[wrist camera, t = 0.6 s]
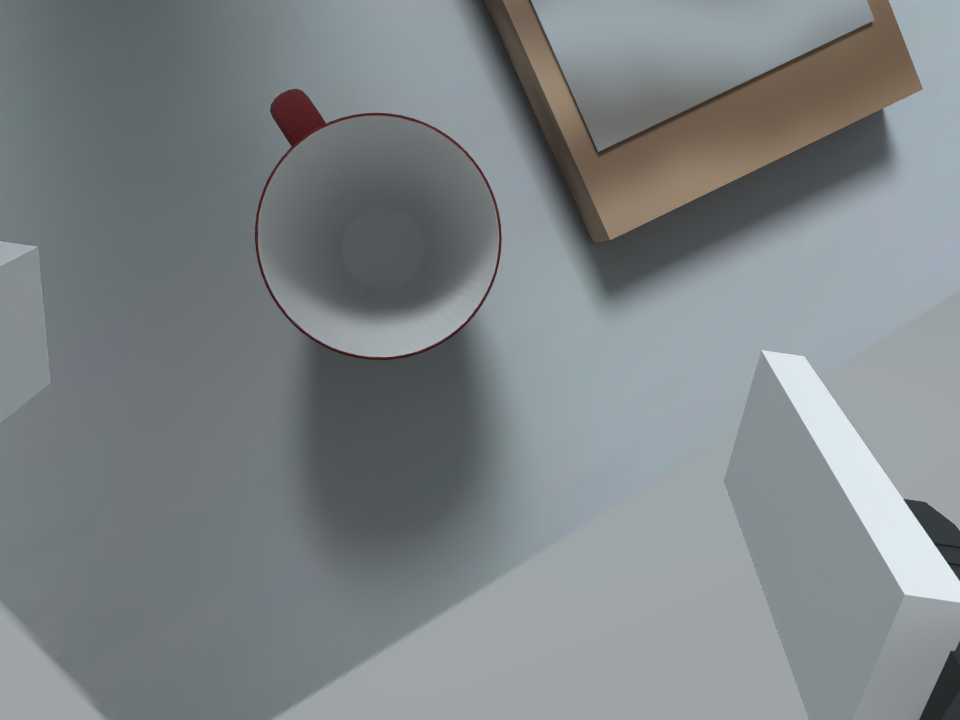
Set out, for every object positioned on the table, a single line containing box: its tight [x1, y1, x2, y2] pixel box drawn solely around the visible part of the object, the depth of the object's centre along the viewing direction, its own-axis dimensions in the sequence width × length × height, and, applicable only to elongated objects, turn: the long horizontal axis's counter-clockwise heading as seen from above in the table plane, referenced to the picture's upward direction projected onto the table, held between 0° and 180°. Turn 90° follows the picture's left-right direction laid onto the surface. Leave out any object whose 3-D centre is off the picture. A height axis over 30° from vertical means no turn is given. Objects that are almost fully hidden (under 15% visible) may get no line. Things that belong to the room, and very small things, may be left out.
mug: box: [255, 89, 501, 360], centre depth 32 cm, size 11×8×10 cm
